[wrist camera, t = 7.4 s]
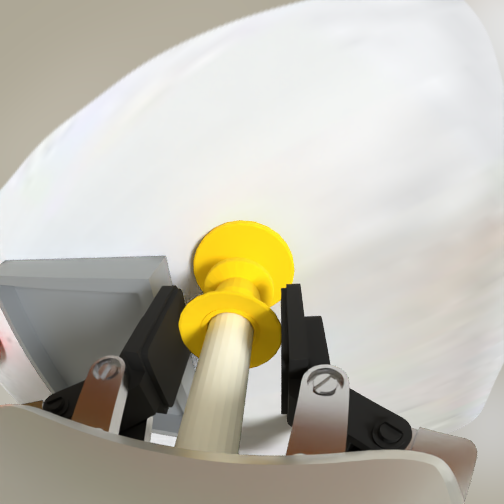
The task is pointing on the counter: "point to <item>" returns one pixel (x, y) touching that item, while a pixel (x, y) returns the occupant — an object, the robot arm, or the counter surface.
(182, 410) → the tray
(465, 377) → the counter surface
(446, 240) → the counter surface
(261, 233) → the candle
